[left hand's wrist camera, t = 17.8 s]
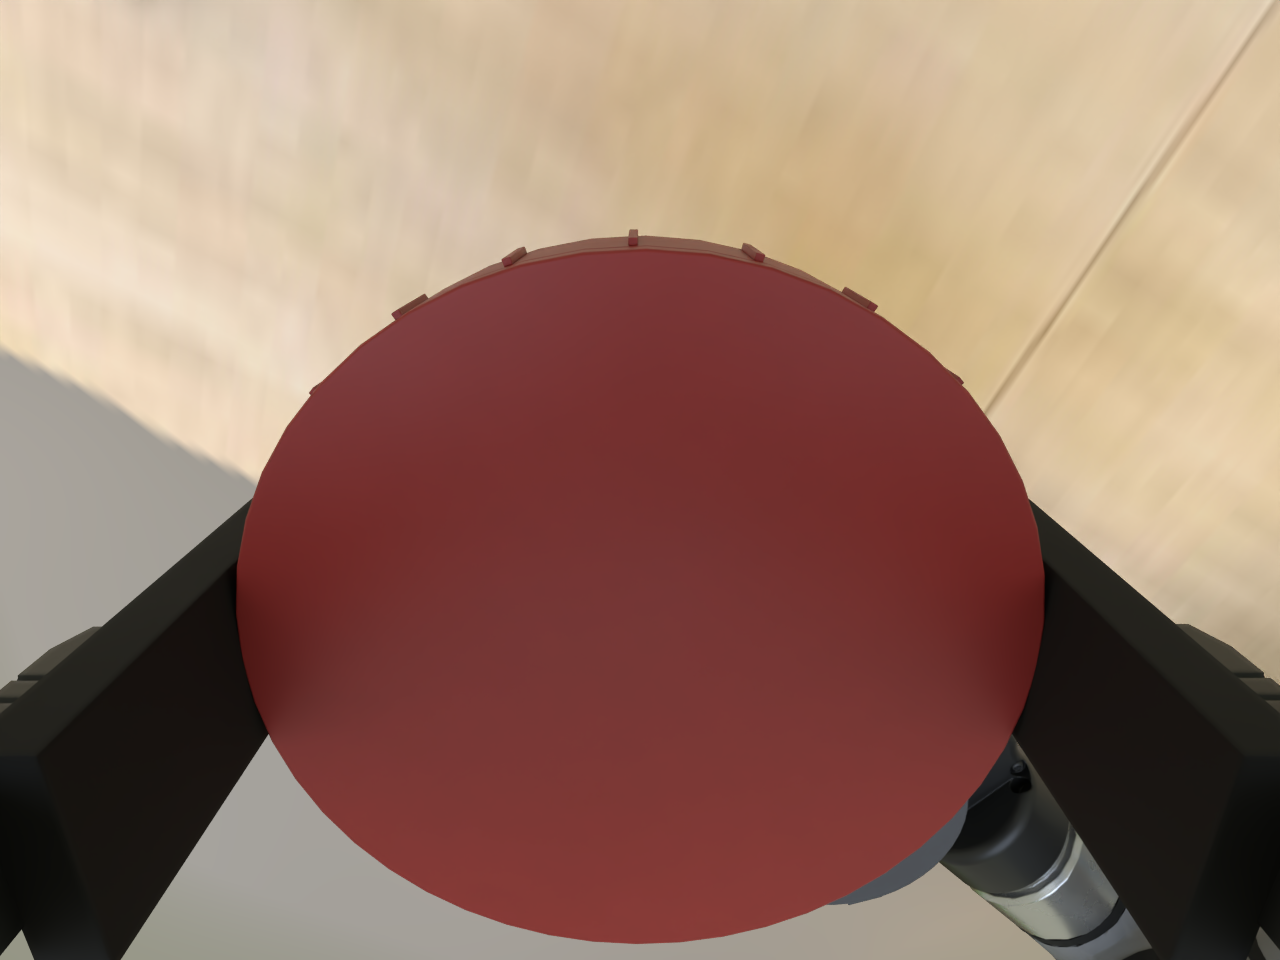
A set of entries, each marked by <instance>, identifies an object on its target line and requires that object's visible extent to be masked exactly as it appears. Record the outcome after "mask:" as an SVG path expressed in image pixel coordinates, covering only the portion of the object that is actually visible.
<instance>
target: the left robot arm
mask: <svg viewBox="0 0 1280 960" xmlns="http://www.w3.org/2000/svg"><path fill="white" fill-rule="evenodd" d="M252 499H253V498H252ZM252 499H251V500H250V501H249V502H247V503H246V504H245V505H244V506H243V507H242V508H241V509H239V510H238V511H237V512H236V513H235V514H233V515H232V516H231V517H230V518H229V519H228V520H226V521H225V522H224V523H223V524H222V525H221V526H219V527H218V528H217V529H216V530H215V531H214V532H212V533H211V534H210V535H209V536H208V537H206V538H205V539H204V540H203V541H202V542H201V543H199V544H198V545H197V546H196V547H195V548H194V549H192V550H191V551H190V552H189V553H188V554H187V555H185V556H184V557H183V558H182V559H181V560H180V561H178V562H177V563H176V564H175V565H174V566H173V567H171V568H170V569H169V570H168V571H167V572H166V573H164V574H163V575H162V576H161V577H160V578H158V579H157V580H156V581H155V582H154V583H153V584H151V585H150V586H149V587H148V588H147V589H146V590H144V591H143V592H142V593H141V594H140V595H139V596H137V597H136V598H135V599H134V600H133V601H132V602H130V603H129V604H128V605H127V606H126V607H125V608H123V609H122V610H121V611H120V612H119V613H118V614H116V615H115V616H114V617H113V618H112V619H110V620H109V621H108V622H107V623H106V624H105V625H103V626H102V627H92V628H90V629H88V630H86V631H84V632H82V633H80V634H78V635H76V636H75V637H73V638H71V639H69V640H67V641H65V642H63V643H61V644H59V645H57V646H55V647H53V648H51V649H50V650H48V651H47V652H46V653H45V654H44V655H42V656H41V657H40V658H39V659H38V660H36V661H35V662H34V663H33V664H31V665H30V666H29V667H28V668H27V669H25V670H24V671H23V672H22V673H20V674H19V675H18V680H17V681H11V682H9V683H8V684H7V685H6V686H4V687H3V688H2V689H1V690H0V955H1V954H2V953H3V952H4V950H5V949H6V948H7V947H8V945H9V944H10V943H11V942H12V940H13V939H14V938H15V937H16V936H17V934H18V933H19V932H20V931H21V929H22V931H23V933H24V936H25V938H26V941H27V943H28V946H29V948H30V950H31V953H32V955H33V958H34V960H121V958H122V957H123V955H124V954H125V952H126V951H127V949H128V948H129V946H130V945H131V943H132V941H133V940H134V938H135V937H136V935H137V934H138V932H139V931H140V929H141V928H142V926H143V925H144V923H145V922H146V920H147V919H148V917H149V916H150V914H151V912H152V911H153V909H154V908H155V906H156V905H157V903H158V902H159V900H160V899H161V897H162V896H163V894H164V893H165V891H166V890H167V888H168V887H169V885H170V883H171V882H172V880H173V879H174V877H175V876H176V874H177V873H178V871H179V870H180V868H181V867H182V865H183V864H184V862H185V861H186V859H187V858H188V856H189V855H190V853H191V851H192V850H193V848H194V847H195V845H196V844H197V842H198V841H199V839H200V838H201V836H202V835H203V833H204V832H205V830H206V829H207V827H208V825H209V824H210V822H211V821H212V819H213V818H214V816H215V815H216V813H217V812H218V810H219V809H220V807H221V806H222V804H223V803H224V801H225V800H226V798H227V796H228V795H229V793H230V792H231V790H232V789H233V787H234V786H235V784H236V783H237V781H238V780H239V778H240V777H241V775H242V774H243V772H244V771H245V769H246V768H247V766H248V764H249V763H250V761H251V760H252V758H253V757H254V755H255V754H256V752H257V751H258V749H259V748H260V746H261V745H262V743H263V742H264V740H265V739H266V737H267V736H268V734H269V733H268V731H267V729H266V727H265V724H264V722H263V720H262V718H261V715H260V713H259V711H258V709H257V707H256V704H255V702H254V699H253V695H252V692H251V689H250V685H249V682H248V678H247V674H246V670H245V666H244V662H243V657H242V652H241V647H240V641H239V633H238V626H237V618H236V588H237V564H238V558H239V553H240V547H241V542H242V536H243V531H244V525H245V520H246V516H247V514H248V511H249V508H250V505H251V502H252ZM1029 502H1030V506H1031V509H1032V512H1033V515H1034V518H1035V521H1036V524H1037V528H1038V534H1039V541H1040V547H1041V554H1042V561H1043V567H1044V574H1045V604H1044V627H1043V634H1042V640H1041V644H1040V649H1039V654H1038V659H1037V664H1036V668H1035V672H1034V676H1033V680H1032V684H1031V687H1030V691H1029V694H1028V697H1027V700H1026V703H1025V706H1024V709H1023V711H1022V713H1021V716H1020V718H1019V720H1018V722H1017V724H1016V726H1015V728H1014V730H1013V732H1012V735H1013V736H1014V738H1015V739H1016V741H1017V742H1018V744H1019V745H1020V747H1021V748H1022V750H1023V752H1024V753H1025V755H1026V756H1027V758H1028V759H1029V761H1030V762H1031V764H1032V765H1033V767H1034V768H1035V770H1036V771H1037V773H1038V774H1039V776H1040V777H1041V779H1042V781H1043V782H1044V784H1045V785H1046V787H1047V788H1048V790H1049V791H1050V793H1051V794H1052V796H1053V797H1054V799H1055V800H1056V802H1057V803H1058V805H1059V806H1060V808H1061V809H1062V811H1063V813H1064V814H1065V816H1066V817H1067V819H1068V820H1069V822H1070V823H1071V825H1072V826H1073V828H1074V829H1075V831H1076V832H1077V834H1078V835H1079V837H1080V838H1081V840H1082V842H1083V843H1084V845H1085V846H1086V848H1087V849H1088V851H1089V852H1090V854H1091V855H1092V857H1093V858H1094V860H1095V861H1096V863H1097V864H1098V866H1099V867H1100V869H1101V871H1102V872H1103V874H1104V875H1105V877H1106V878H1107V880H1108V881H1109V883H1110V884H1111V886H1112V887H1113V889H1114V890H1115V892H1116V893H1117V895H1118V896H1119V898H1120V899H1121V901H1122V903H1123V904H1124V906H1125V907H1126V909H1127V910H1128V912H1129V913H1130V915H1131V916H1132V918H1133V919H1134V921H1135V922H1136V924H1137V925H1138V927H1139V928H1140V930H1141V932H1142V933H1143V935H1144V936H1145V938H1146V939H1147V941H1148V942H1149V944H1150V945H1151V947H1152V948H1153V950H1154V951H1155V953H1156V954H1157V956H1158V957H1159V959H1160V960H1247V957H1248V955H1249V952H1250V950H1251V947H1252V945H1253V943H1254V940H1255V938H1256V935H1257V933H1258V930H1259V928H1260V927H1261V928H1262V929H1263V930H1264V932H1265V933H1266V934H1267V935H1268V937H1269V938H1270V939H1271V940H1272V941H1273V943H1274V944H1275V945H1276V946H1277V948H1278V949H1279V950H1280V685H1278V684H1277V683H1276V682H1275V681H1273V680H1272V679H1271V678H1265V677H1264V672H1262V671H1261V670H1260V669H1259V668H1257V667H1256V666H1255V665H1254V664H1252V663H1251V662H1250V661H1249V660H1248V659H1246V658H1245V657H1244V656H1243V655H1241V654H1240V653H1239V652H1238V651H1236V650H1235V649H1234V648H1233V647H1232V646H1230V645H1228V644H1226V643H1224V642H1222V641H1220V640H1218V639H1216V638H1214V637H1212V636H1210V635H1208V634H1206V633H1204V632H1202V631H1201V630H1199V629H1197V628H1195V627H1193V626H1191V625H1189V624H1175V623H1174V622H1172V621H1171V620H1170V619H1169V618H1168V617H1167V616H1165V615H1164V614H1163V613H1162V612H1161V611H1160V610H1158V609H1157V608H1156V607H1155V606H1154V605H1153V604H1151V603H1150V602H1149V601H1148V600H1147V599H1146V598H1144V597H1143V596H1142V595H1141V594H1140V593H1139V592H1137V591H1136V590H1135V589H1134V588H1133V587H1131V586H1130V585H1129V584H1128V583H1127V582H1126V581H1124V580H1123V579H1122V578H1121V577H1120V576H1119V575H1117V574H1116V573H1115V572H1114V571H1113V570H1112V569H1110V568H1109V567H1108V566H1107V565H1106V564H1105V563H1103V562H1102V561H1101V560H1100V559H1099V558H1098V557H1096V556H1095V555H1094V554H1093V553H1092V552H1090V551H1089V550H1088V549H1087V548H1086V547H1085V546H1083V545H1082V544H1081V543H1080V542H1079V541H1078V540H1076V539H1075V538H1074V537H1073V536H1072V535H1071V534H1069V533H1068V532H1067V531H1066V530H1065V529H1064V528H1062V527H1061V526H1060V525H1059V524H1058V523H1056V522H1055V521H1054V520H1053V519H1052V518H1051V517H1049V516H1048V515H1047V514H1046V513H1045V512H1044V511H1042V510H1041V509H1040V508H1039V507H1038V506H1037V505H1035V504H1034V503H1033V502H1032V501H1031V500H1030V499H1029Z"/></svg>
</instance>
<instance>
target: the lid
mask: <svg viewBox="0 0 1280 960" xmlns="http://www.w3.org/2000/svg"><path fill="white" fill-rule="evenodd" d="M877 307H878V306H877V305H876V304H874V303H873V302H871V301H869V300H868V299H866V298H864V297H862V296H861V295H859V294H857V293H855V292H854V291H852V290H850V289H849V288H847V287H845V288H844V289H843V291H842V292H840V291H838V290H837V289H835V288H833V287H831V286H829V285H827V284H826V283H824V282H822V281H820V280H818V279H816V278H814V277H813V276H811V275H809V274H807V273H805V272H803V271H802V270H799V269H797V268H794V267H791V266H789V265H786V264H783V263H781V262H778V261H775V260H773V259H770V258H767V257H765V255H764V254H763V253H762V252H760V251H759V250H757V249H756V248H754V247H753V246H752V245H749V244H746V243H743V246H742V249H737V248H733V247H728V246H724V245H719V244H715V243H710V242H706V241H701V240H692V239H680V238H668V237H655V236H638V230H637V229H636V230H629V236H628V237H613V238H595V239H588V240H582V241H577V242H572V243H567V244H562V245H557V246H552V247H547V248H541V249H537V250H535V251H532V252H529V253H527V252H526V249H525V247H522V248H518V249H516V250H515V251H513V252H512V253H510V254H509V255H507V256H506V257H504V258H503V259H502V262H500V263H497V264H494V265H491V266H488V267H486V268H484V269H482V270H481V271H479V272H477V273H475V274H473V275H471V276H469V277H467V278H465V279H463V280H461V281H459V282H457V283H455V284H453V285H451V286H449V287H447V288H445V289H443V290H442V291H440V292H438V293H437V294H435V295H434V296H432V297H430V298H429V299H428V297H427V296H426V295H425V294H423V295H422V296H420V297H418V298H416V299H415V300H413V301H411V302H410V303H408V304H406V305H404V306H403V307H401V308H399V309H398V310H396V311H395V312H393V313H392V316H393V317H394V319H395V321H394V322H392V323H391V324H389V325H388V326H387V327H385V328H384V329H382V330H381V331H379V332H378V333H377V334H375V335H374V336H372V337H371V338H370V339H368V340H367V341H365V342H364V343H363V344H361V345H360V346H359V347H358V348H357V349H356V350H355V351H353V352H352V353H351V354H350V355H349V356H348V357H347V358H346V359H345V360H344V361H343V362H342V363H341V364H340V365H339V366H338V367H337V368H336V369H335V370H334V371H333V372H332V373H331V374H329V375H328V376H327V377H326V378H325V379H324V380H323V381H322V382H321V383H319V384H318V385H316V386H315V387H313V388H312V390H311V391H310V392H309V394H310V395H311V396H310V397H309V398H308V400H307V401H306V402H305V404H304V405H303V406H302V408H301V409H300V410H299V411H298V413H297V414H296V415H295V417H294V418H293V419H292V421H291V422H290V423H289V424H288V426H287V427H286V429H285V431H284V433H283V435H282V436H281V438H280V440H279V442H278V444H277V446H276V447H275V449H274V451H273V453H272V455H271V457H270V459H269V460H268V462H267V464H266V466H265V468H264V470H263V471H262V474H261V477H260V480H259V482H258V485H257V488H256V491H255V494H254V497H253V499H252V502H251V505H250V508H249V511H248V514H247V516H246V520H245V525H244V531H243V536H242V542H241V547H240V553H239V558H238V564H237V588H236V618H237V626H238V633H239V641H240V647H241V652H242V657H243V662H244V666H245V670H246V674H247V678H248V682H249V685H250V689H251V692H252V695H253V699H254V702H255V704H256V707H257V709H258V711H259V713H260V715H261V718H262V720H263V722H264V724H265V727H266V729H267V731H268V733H269V735H270V738H271V740H272V742H273V744H274V745H275V747H276V748H277V750H278V752H279V753H280V755H281V756H282V758H283V760H284V761H285V763H286V764H287V766H288V768H289V769H290V771H291V772H292V774H293V776H294V777H295V779H296V780H297V781H298V783H299V784H300V785H301V786H302V787H303V789H304V790H305V791H306V792H307V794H308V795H309V796H310V797H311V798H312V800H313V801H314V802H315V803H316V805H317V806H318V807H319V808H320V809H321V811H322V812H323V813H324V814H325V815H326V816H327V817H328V818H329V819H330V820H331V821H332V822H333V823H334V824H336V826H338V827H339V828H340V829H341V830H342V831H343V832H344V833H345V834H346V835H347V836H348V837H349V838H350V839H351V840H352V841H353V842H354V843H356V844H357V845H358V846H359V847H361V848H362V849H363V850H365V851H366V852H367V853H369V854H370V855H371V856H373V857H374V858H375V859H376V860H378V861H379V862H380V863H382V864H383V865H384V866H386V867H387V868H388V869H390V870H391V871H393V872H395V873H396V874H398V875H400V876H401V877H403V878H405V879H406V880H408V881H410V882H411V883H413V884H415V885H416V886H418V887H420V888H421V889H423V890H425V891H426V892H428V893H431V894H433V895H435V896H437V897H439V898H441V899H443V900H445V901H448V902H450V903H452V904H454V905H456V906H458V907H460V908H462V909H465V910H467V911H470V912H473V913H475V914H478V915H481V916H484V917H487V918H490V919H493V920H495V921H498V922H501V923H504V924H507V925H511V926H515V927H519V928H523V929H527V930H531V931H535V932H539V933H543V934H547V935H552V936H559V937H566V938H572V939H579V940H586V941H593V942H611V943H629V944H647V943H673V942H685V941H693V940H701V939H709V938H716V937H723V936H728V935H732V934H737V933H741V932H745V931H750V930H754V929H758V928H763V927H767V926H770V925H773V924H776V923H779V922H782V921H785V920H788V919H791V918H794V917H797V916H800V915H803V914H806V913H808V912H811V911H813V910H815V909H817V908H820V907H822V906H824V905H826V904H829V903H831V902H833V901H835V900H838V899H840V898H842V897H844V896H847V895H848V894H850V893H852V892H854V891H855V890H857V889H859V888H861V887H862V886H864V885H866V884H868V883H869V882H871V881H873V880H874V879H876V878H878V877H880V876H881V875H883V874H885V873H886V872H888V871H889V870H890V869H892V868H893V867H894V866H896V865H897V864H899V863H900V862H901V861H903V860H904V859H905V858H907V857H908V856H910V855H911V854H912V853H914V852H915V851H916V850H918V849H919V848H920V847H922V846H923V845H924V844H925V843H926V842H927V841H928V840H929V839H930V838H931V837H932V836H933V835H935V834H936V833H937V832H938V831H939V830H940V829H941V828H942V827H943V826H944V825H945V824H947V823H948V822H949V821H950V820H951V819H952V818H953V817H954V816H955V814H956V813H957V812H958V811H959V810H960V809H961V807H962V806H963V805H964V804H965V803H966V802H967V800H968V799H969V798H970V797H971V796H972V795H973V793H974V792H975V791H976V790H977V789H978V788H979V786H980V785H981V784H982V782H983V781H984V779H985V778H986V776H987V775H988V773H989V772H990V770H991V769H992V767H993V765H994V764H995V762H996V761H997V759H998V758H999V756H1000V755H1001V753H1002V752H1003V750H1004V749H1005V747H1006V745H1007V743H1008V740H1009V738H1010V736H1011V734H1012V732H1013V730H1014V728H1015V726H1016V724H1017V722H1018V720H1019V718H1020V716H1021V713H1022V711H1023V709H1024V706H1025V703H1026V700H1027V697H1028V694H1029V691H1030V687H1031V684H1032V680H1033V676H1034V672H1035V668H1036V664H1037V659H1038V654H1039V649H1040V644H1041V640H1042V634H1043V627H1044V604H1045V574H1044V567H1043V561H1042V554H1041V547H1040V541H1039V534H1038V528H1037V524H1036V521H1035V518H1034V515H1033V512H1032V509H1031V506H1030V502H1029V499H1028V496H1027V493H1026V490H1025V487H1024V484H1023V481H1022V479H1021V477H1020V475H1019V473H1018V471H1017V469H1016V467H1015V465H1014V463H1013V461H1012V459H1011V457H1010V455H1009V453H1008V451H1007V449H1006V447H1005V445H1004V443H1003V441H1002V439H1001V437H1000V435H999V434H998V432H997V431H996V429H995V428H994V427H993V425H992V424H991V422H990V421H989V420H988V418H987V417H986V416H985V414H984V413H983V411H982V410H981V409H980V407H979V406H978V404H977V403H976V402H975V400H974V399H973V397H972V396H971V395H970V393H969V392H968V391H967V390H966V389H965V388H964V387H963V386H962V384H963V383H964V382H963V381H962V380H961V378H960V377H958V376H957V375H955V374H954V373H952V372H951V371H949V370H948V369H946V368H945V367H943V366H942V364H941V363H940V362H939V361H938V360H937V359H936V358H935V357H934V356H933V355H932V354H931V353H930V352H928V351H927V350H926V349H924V348H923V347H922V346H920V345H919V344H918V343H916V342H915V341H914V340H912V339H911V338H910V337H908V336H907V335H906V334H904V333H903V332H902V331H900V330H899V329H898V328H896V327H895V326H894V325H892V324H891V323H890V322H888V321H887V320H886V319H884V318H883V317H881V316H880V315H878V314H877V313H875V312H874V311H875V310H876V309H877Z"/></svg>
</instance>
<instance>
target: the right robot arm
mask: <svg viewBox="0 0 1280 960" xmlns="http://www.w3.org/2000/svg"><path fill="white" fill-rule="evenodd" d="M939 862H940V863H941V864H942V865H943V866H945V867H946V868H947V869H948V870H949V871H951V872H952V873H953V874H954V875H956V876H957V877H958V878H959V879H961V880H962V881H963V882H964V883H965V884H967V885H969V886H970V887H971V889H972V890H973V891H975V892H976V893H977V894H978V895H980V896H981V897H982V898H983V899H985V900H986V901H987V902H988V903H990V904H991V905H992V906H993V907H995V908H996V909H997V910H998V911H1000V912H1001V913H1002V914H1003V915H1005V916H1006V917H1007V918H1008V919H1010V920H1011V921H1012V922H1013V923H1014V924H1016V925H1017V926H1018V927H1019V928H1020V929H1021V930H1023V931H1024V932H1026V933H1027V934H1028V935H1029V936H1031V937H1032V938H1033V939H1034V940H1035V941H1036V942H1038V943H1039V944H1040V945H1041V946H1042V947H1043V948H1045V949H1046V950H1047V951H1048V952H1049V953H1050V954H1052V956H1053V957H1054V958H1055V959H1056V960H1160V959H1159V957H1158V956H1157V954H1156V953H1155V951H1154V950H1153V948H1152V947H1151V945H1150V944H1149V942H1148V941H1147V939H1146V938H1145V936H1144V935H1143V933H1142V932H1141V930H1140V928H1139V927H1138V925H1137V924H1136V922H1135V921H1134V919H1133V918H1132V916H1131V915H1130V913H1129V912H1128V910H1127V909H1126V907H1125V906H1124V904H1123V903H1122V901H1121V899H1120V898H1119V896H1118V895H1117V893H1116V892H1115V890H1114V889H1113V887H1112V886H1111V884H1110V883H1109V881H1108V880H1107V878H1106V877H1105V875H1104V874H1103V872H1102V871H1101V869H1100V867H1099V866H1098V864H1097V863H1096V861H1095V860H1094V858H1093V857H1092V855H1091V854H1090V852H1089V851H1088V849H1087V848H1086V846H1085V845H1084V843H1083V842H1082V840H1081V838H1080V837H1079V835H1078V834H1077V832H1076V831H1075V829H1074V828H1073V826H1072V825H1071V823H1070V822H1069V820H1068V819H1067V817H1066V816H1065V814H1064V813H1063V811H1062V809H1061V808H1060V806H1059V805H1058V803H1057V802H1056V800H1055V799H1054V797H1053V796H1052V794H1051V793H1050V791H1049V790H1048V788H1047V787H1046V785H1045V784H1044V782H1043V781H1042V779H1041V777H1040V776H1039V774H1038V773H1037V771H1036V770H1035V768H1034V767H1033V765H1032V764H1031V762H1030V761H1029V759H1028V758H1027V756H1026V755H1025V753H1024V752H1023V750H1022V748H1021V747H1020V746H1019V745H1018V744H1017V741H1016V739H1015V738H1014V736H1013V735H1012V734H1011V736H1010V738H1009V740H1008V743H1007V745H1006V747H1005V749H1004V750H1003V752H1002V753H1001V755H1000V756H999V758H998V759H997V761H996V762H995V764H994V765H993V767H992V769H991V770H990V772H989V773H988V775H987V776H986V778H985V779H984V781H983V782H982V784H981V785H980V786H979V788H978V789H977V790H976V791H975V792H974V793H973V795H972V796H971V797H970V798H969V799H968V810H967V814H966V819H965V822H964V825H963V827H962V830H961V832H960V834H959V836H958V838H957V839H956V841H955V843H954V844H953V846H952V847H951V849H950V850H949V851H948V852H947V854H946V855H945V856H944V857H943V858H942V859H941V860H940V861H939ZM1247 960H1280V950H1279V949H1278V948H1277V946H1276V945H1275V944H1274V943H1273V941H1272V940H1271V939H1270V938H1269V937H1268V935H1267V934H1266V933H1265V932H1264V930H1263V929H1262V928H1261V927H1260V928H1259V930H1258V933H1257V935H1256V938H1255V940H1254V943H1253V945H1252V947H1251V950H1250V952H1249V955H1248V957H1247Z"/></svg>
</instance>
